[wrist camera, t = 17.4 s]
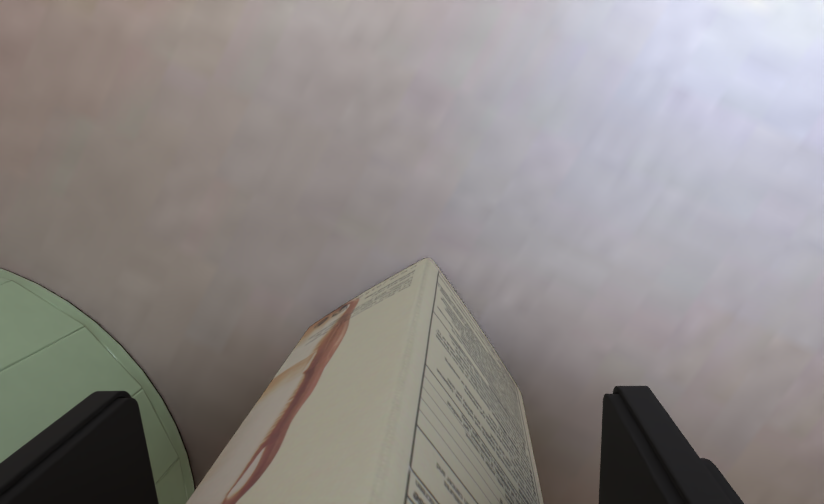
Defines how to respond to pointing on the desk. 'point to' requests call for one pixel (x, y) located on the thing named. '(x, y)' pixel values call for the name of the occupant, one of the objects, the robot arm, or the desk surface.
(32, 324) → the canister
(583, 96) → the desk surface
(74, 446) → the robot arm
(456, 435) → the printed cream carton
